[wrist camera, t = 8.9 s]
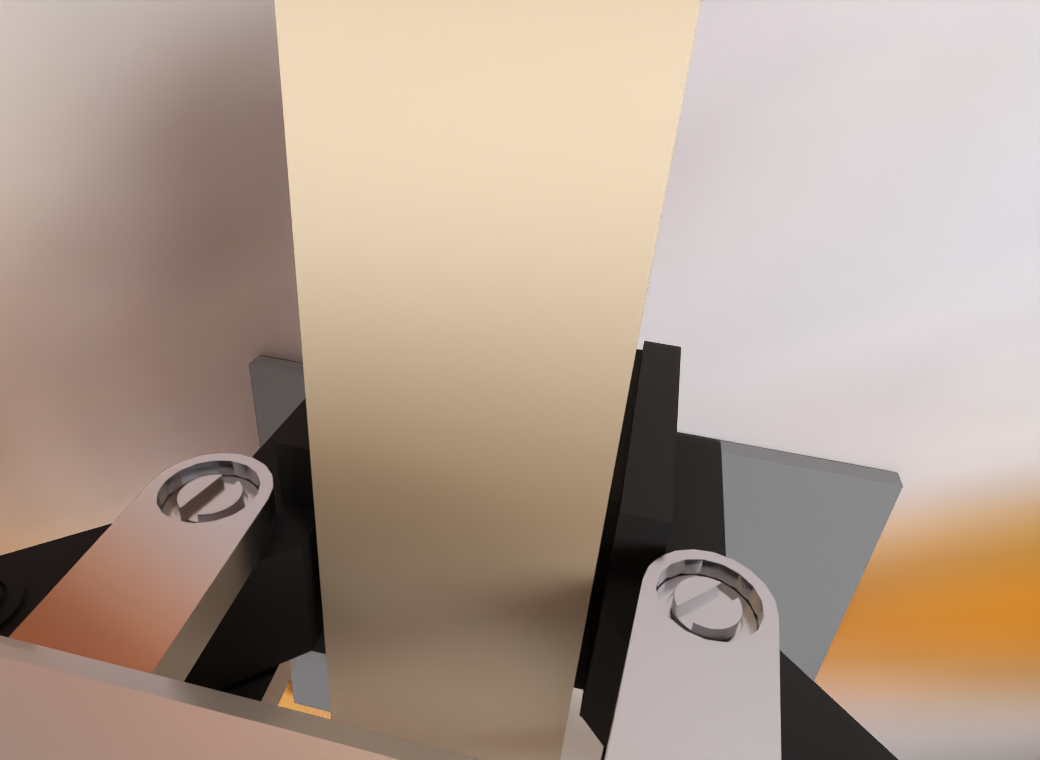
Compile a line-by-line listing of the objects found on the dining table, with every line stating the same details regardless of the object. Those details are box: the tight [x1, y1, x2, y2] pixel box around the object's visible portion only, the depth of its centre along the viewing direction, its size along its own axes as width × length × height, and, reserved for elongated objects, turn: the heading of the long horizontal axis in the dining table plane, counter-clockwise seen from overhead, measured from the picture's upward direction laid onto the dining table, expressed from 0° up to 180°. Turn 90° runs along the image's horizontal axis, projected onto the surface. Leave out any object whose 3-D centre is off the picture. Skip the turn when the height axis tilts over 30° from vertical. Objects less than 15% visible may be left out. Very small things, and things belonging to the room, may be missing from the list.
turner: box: [274, 0, 701, 760], centre depth 10 cm, size 17×7×5 cm, turn 175°
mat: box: [249, 356, 903, 712], centre depth 21 cm, size 16×14×1 cm
